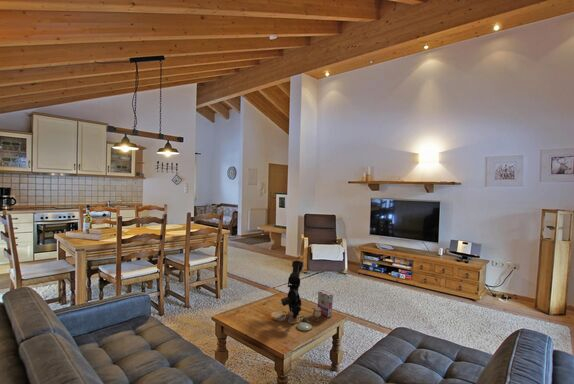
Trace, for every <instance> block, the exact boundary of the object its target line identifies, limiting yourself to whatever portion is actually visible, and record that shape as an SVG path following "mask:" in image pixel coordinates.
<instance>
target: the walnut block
mask: <svg viewBox="0 0 574 384" xmlns="http://www.w3.org/2000/svg"><path fill="white" fill-rule="evenodd" d="M287 315H288V316H287V320H289V321H290V322H296V323H297V322H298V315H297V316H296V318H295V319H294V318H293V312H292V311H291V312H290V311H288V312H287Z"/></svg>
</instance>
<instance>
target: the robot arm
mask: <svg viewBox="0 0 574 384" xmlns="http://www.w3.org/2000/svg"><path fill="white" fill-rule="evenodd" d="M291 267H292V272H291V273H290V274H289V276H288V281H287V288H289V289H288V292H287V296H285V297H283V298H281V299H280V301H281V304H282V306H283V307H285V306H288V311H289V312H291V311H292V312H293V318H294V319H295V318H296V316H297V317H298V316H299V315H300V312H301V311H302V299H301V296H300V293H299V290H300V289H299V288H300V286H301V278H300V277H301V276H300V274H301V273H302V271H303V268H304V262H303V260H302V261H300V260H292V261H291Z"/></svg>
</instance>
